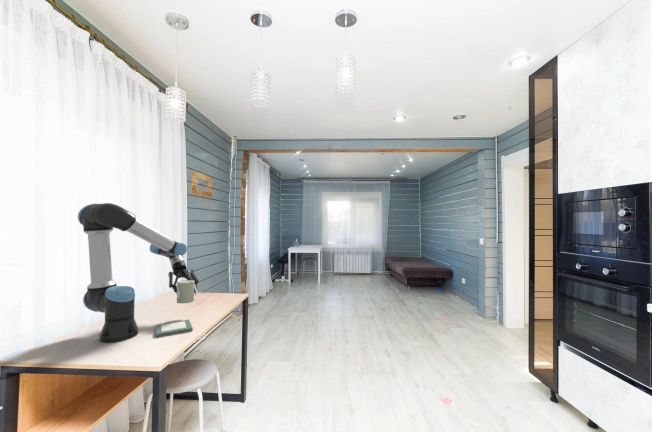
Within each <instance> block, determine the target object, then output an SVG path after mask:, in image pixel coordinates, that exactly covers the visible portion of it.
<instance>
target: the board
mask: <svg viewBox="0 0 652 432" xmlns="http://www.w3.org/2000/svg"><path fill="white" fill-rule="evenodd" d="M154 329H155V338H161V337H166V336H171V335H178V334H183V333H189V332H193V326H192V323H191V322H190V319H184V320H182V319H181V320H177V321H170V322H164V323H158V324H155V327H154Z"/></svg>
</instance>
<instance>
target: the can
mask: <svg viewBox="0 0 652 432" xmlns="http://www.w3.org/2000/svg"><path fill="white" fill-rule="evenodd" d="M176 285H178V288H179V292H180V297H179V298H178V297H177V296H176V303H177V304H191V303H193V302H194V301H195V294H194V281H193V280H187V279H186V280H180V281H177V284H176Z"/></svg>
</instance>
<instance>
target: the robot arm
mask: <svg viewBox="0 0 652 432" xmlns="http://www.w3.org/2000/svg"><path fill="white" fill-rule="evenodd" d="M77 219H78V222H79V224H80V225H82V227H83V229H82V230H83V232H84V234H86V235H87V240H88V254H89V255H88V259H89V272H90V274H89V275H90V283H89V284H88V285H87V287H86V288H87V290H86V292H85V293H84V295H83V298H82V302H83V304H84V307H85V308H86V309H88V310H90V311H93V312H95V313H104V323H103V327H102V329H101V331H100V334H99V341H100V342H102V343H115V342H116V343H117V342H121V341H125V340H129V339H132V338H135V337H136V336H138V334H139V327H138V325H137V322H136V319H135V302H136V301H135V300H136V298H135V297H136V294H135V292H136V291H135V289H134V288H133V287H132V286H130V285H117V282H116V281H115V280H113V269H112V267H113V266H112V250H111V249H112V248H111V233H112V231H114V229H117V230H119V231H121V232H129V234H132V235H133V236H135V237H137V238H139V239H141V240H142V241H146V242H147V243H149V244H150V246H149V251H150V253H152V254H155V255H158V256H161V257H166V258H168V260H169V262H170V266H171V269H172V271H169V272H168V275H167V276H168V287H169V289H172V290H173V292H174V293H176V298H177V297H178V298H179V297H180V292H179V288H178V285H177V282H179V281H178V280H179V279H181V278H183V279H186V280H193V281H194V296H197V294H198V285H199V282H200V280H199V279H198V277H197V276H196V274H195V272H194V270H193V269H190V270H188V268H187V265H186V261H185V258H184V255H186V253H187V251H188V247H187V244H186V243H184V242H178V241H176V240H175V239H172V238H171V237H169V236H168V235H165V234H164V233H162V232H161V231H159V230H158V229H156V228H154V227H152V226H150V225H149V224H147V223H145V222H143V221H141V220H140V219H138V217H137V215H136V214H134V213H132V212H131V211H129V210H127V209H126V208H124V207H122V206H121V205H118V204H115V203H110V202H105V203H104V202H103V203H91V204H87V205H85V206H83V207H81V208H80V210H79V211H78V214H77ZM173 276H175V280H174V283H173Z"/></svg>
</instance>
